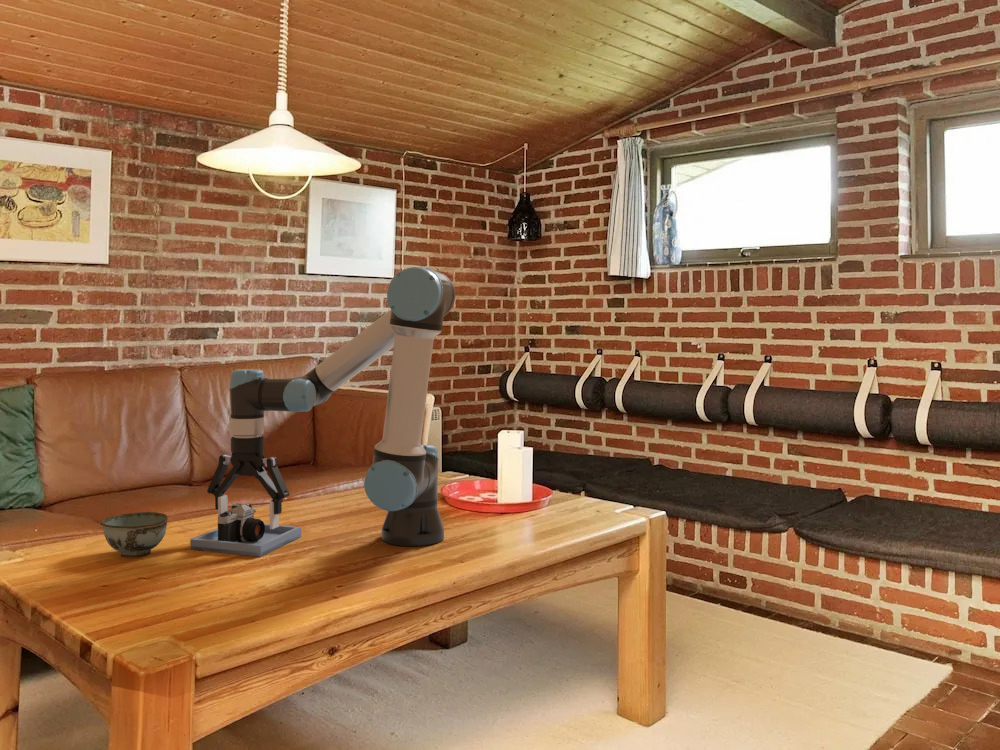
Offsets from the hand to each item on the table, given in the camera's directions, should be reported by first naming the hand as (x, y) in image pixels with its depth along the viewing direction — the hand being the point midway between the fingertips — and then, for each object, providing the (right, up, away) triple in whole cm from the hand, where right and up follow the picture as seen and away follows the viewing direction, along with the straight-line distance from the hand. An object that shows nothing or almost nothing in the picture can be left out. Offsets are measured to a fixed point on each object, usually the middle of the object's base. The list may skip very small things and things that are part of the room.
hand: (248, 525), depth 194 cm
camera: (-1, -4, -1) cm, 4 cm away
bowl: (-22, -5, -10) cm, 25 cm away
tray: (0, -4, 0) cm, 4 cm away
